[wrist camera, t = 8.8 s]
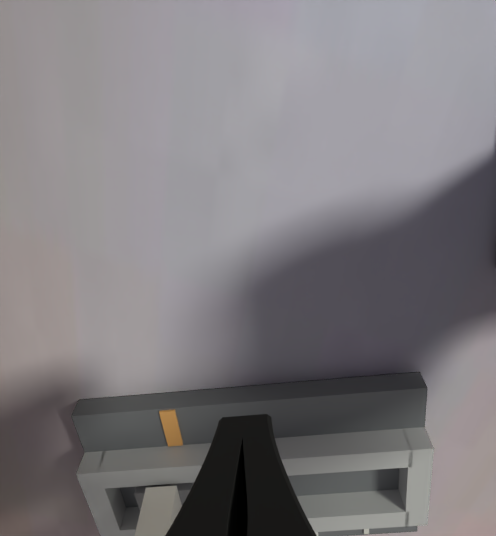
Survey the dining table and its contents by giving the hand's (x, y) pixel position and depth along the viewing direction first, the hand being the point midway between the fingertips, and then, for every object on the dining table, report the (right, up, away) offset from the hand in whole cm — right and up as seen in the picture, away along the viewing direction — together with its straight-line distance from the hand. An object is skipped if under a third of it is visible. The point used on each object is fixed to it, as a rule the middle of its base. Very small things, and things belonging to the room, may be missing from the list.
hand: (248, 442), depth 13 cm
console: (0, -6, +14) cm, 16 cm away
